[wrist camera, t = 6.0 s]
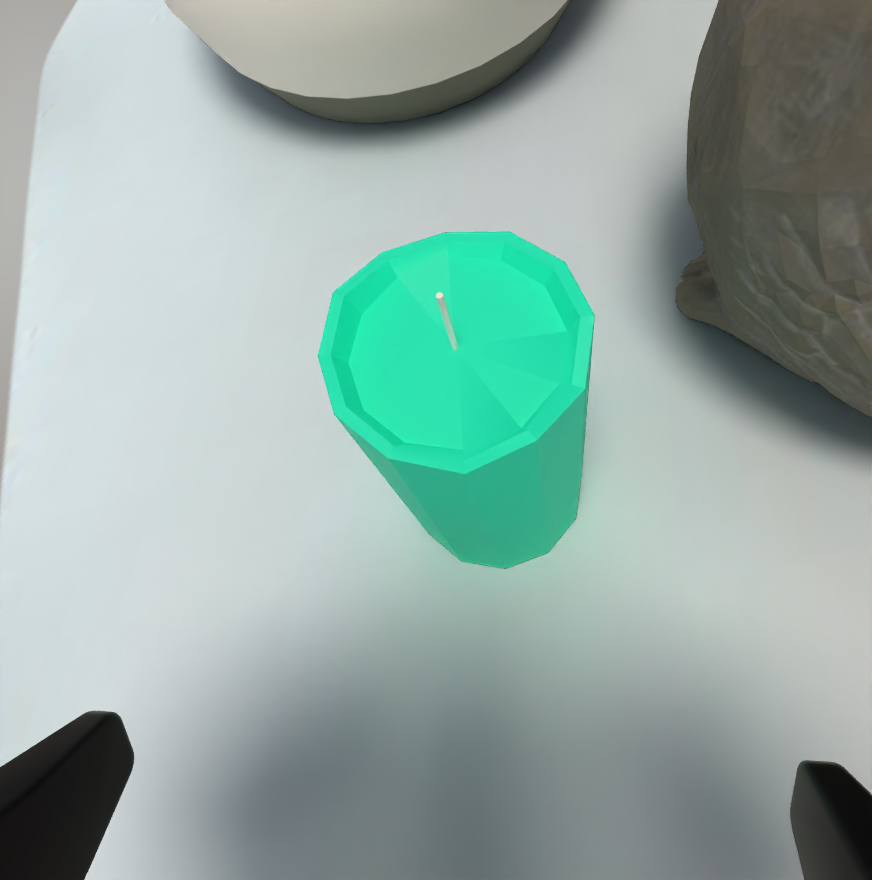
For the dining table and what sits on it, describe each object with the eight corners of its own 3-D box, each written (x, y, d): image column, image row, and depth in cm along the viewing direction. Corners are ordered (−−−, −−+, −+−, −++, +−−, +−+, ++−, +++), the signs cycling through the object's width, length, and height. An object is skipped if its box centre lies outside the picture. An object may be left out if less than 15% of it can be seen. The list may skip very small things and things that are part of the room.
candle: (387, 526, 24) (235, 374, 13) (458, 388, 25) (378, 146, 14) (541, 598, 22) (519, 492, 11) (608, 443, 23) (648, 213, 12)
